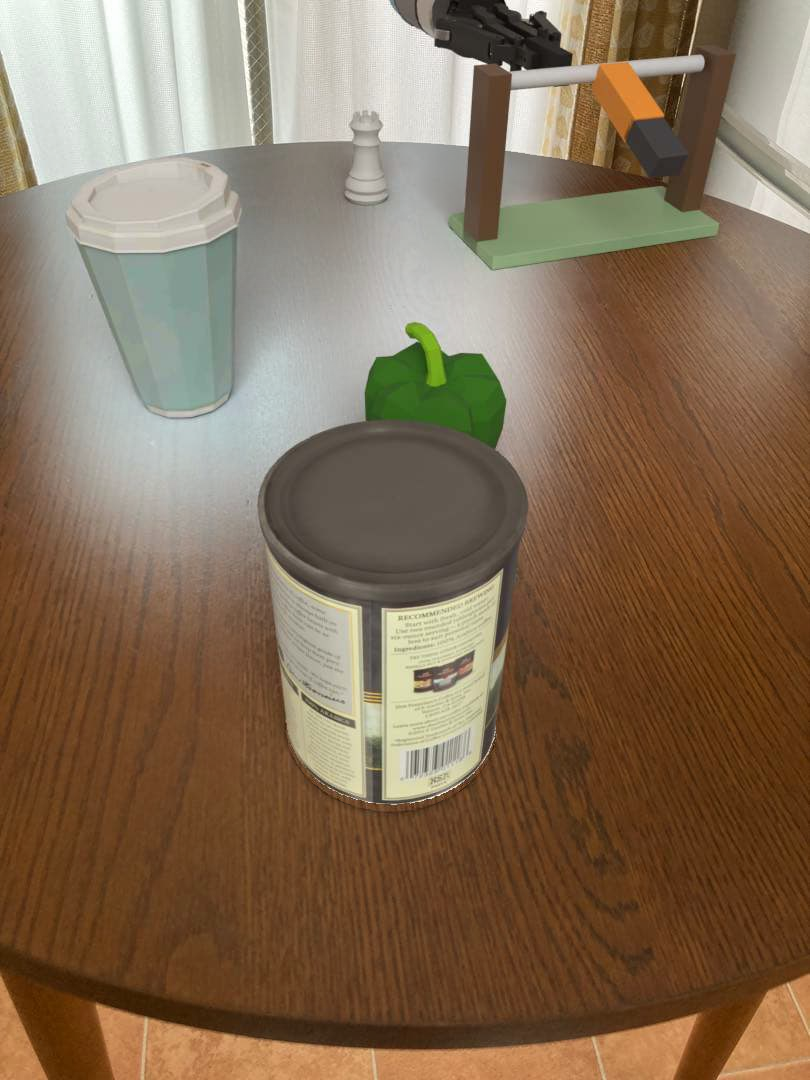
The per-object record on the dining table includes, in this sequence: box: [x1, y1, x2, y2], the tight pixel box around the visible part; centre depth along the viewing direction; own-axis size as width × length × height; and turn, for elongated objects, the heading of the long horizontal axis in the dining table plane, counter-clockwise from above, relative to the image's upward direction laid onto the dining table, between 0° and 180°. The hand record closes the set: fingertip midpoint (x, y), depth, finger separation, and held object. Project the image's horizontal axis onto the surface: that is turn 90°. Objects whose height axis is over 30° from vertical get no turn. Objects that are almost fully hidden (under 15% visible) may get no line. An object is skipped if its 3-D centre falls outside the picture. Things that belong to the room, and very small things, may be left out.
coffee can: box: [257, 420, 529, 805], centre depth 40 cm, size 10×10×14 cm
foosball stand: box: [448, 44, 737, 271], centre depth 83 cm, size 24×10×15 cm, turn 111°
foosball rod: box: [509, 54, 705, 179], centre depth 76 cm, size 19×2×13 cm
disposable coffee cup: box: [64, 156, 243, 419], centre depth 61 cm, size 11×11×15 cm
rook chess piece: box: [344, 109, 390, 206], centre depth 90 cm, size 4×4×8 cm
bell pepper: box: [364, 321, 507, 450], centre depth 55 cm, size 8×8×10 cm
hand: (563, 70), depth 85 cm, fingers closed
